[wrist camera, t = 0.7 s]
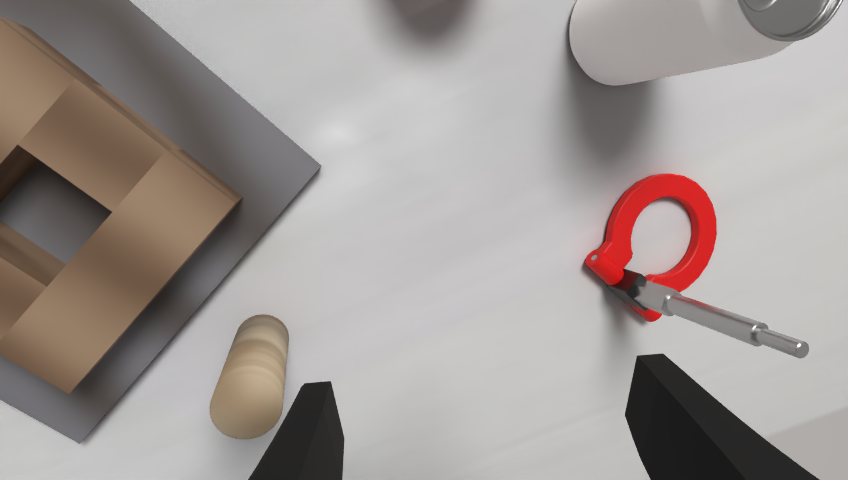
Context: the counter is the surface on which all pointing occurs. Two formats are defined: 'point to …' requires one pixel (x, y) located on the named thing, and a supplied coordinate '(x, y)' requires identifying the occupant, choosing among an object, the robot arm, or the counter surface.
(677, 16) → the can
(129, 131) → the holder
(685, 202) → the tow hook
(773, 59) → the counter surface
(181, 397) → the counter surface
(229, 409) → the peg
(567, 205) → the counter surface
